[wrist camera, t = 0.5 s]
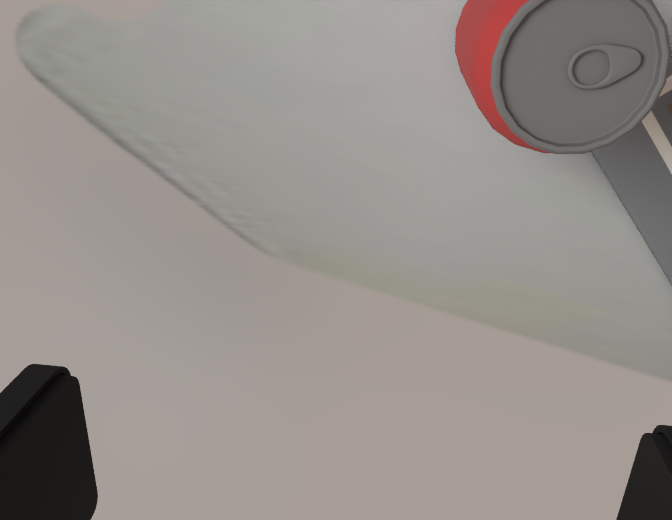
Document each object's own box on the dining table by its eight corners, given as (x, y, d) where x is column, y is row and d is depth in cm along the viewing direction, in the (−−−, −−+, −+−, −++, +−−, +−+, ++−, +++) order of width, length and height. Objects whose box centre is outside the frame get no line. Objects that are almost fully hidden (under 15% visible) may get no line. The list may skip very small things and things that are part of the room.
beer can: (594, 91, 32) (687, 152, 21) (462, 114, 33) (486, 184, 22) (588, -52, 29) (692, -66, 18) (445, -21, 30) (463, -17, 19)
